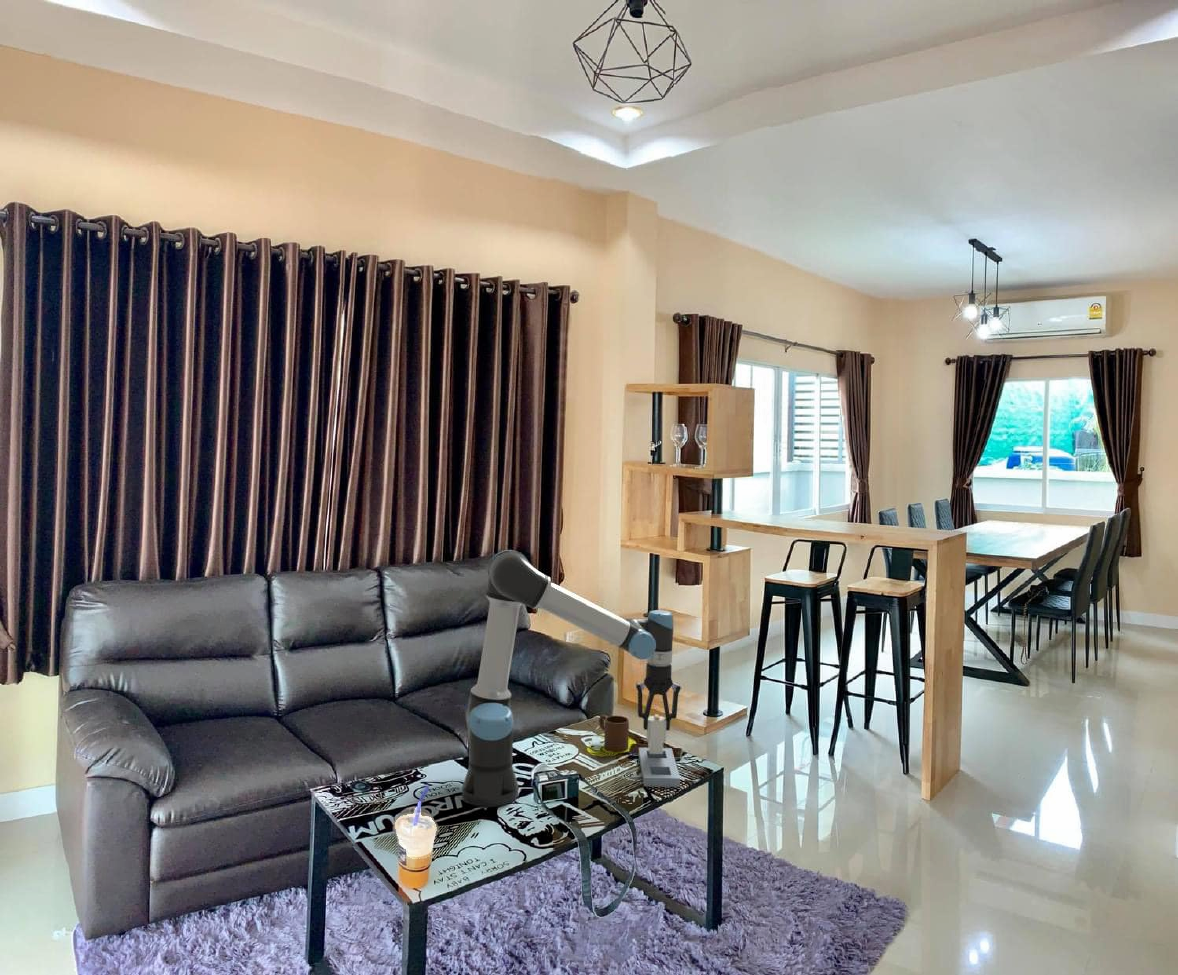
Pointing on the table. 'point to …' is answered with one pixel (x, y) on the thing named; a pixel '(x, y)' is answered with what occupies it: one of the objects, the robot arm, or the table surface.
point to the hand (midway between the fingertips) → (655, 740)
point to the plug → (656, 734)
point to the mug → (615, 732)
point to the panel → (659, 768)
